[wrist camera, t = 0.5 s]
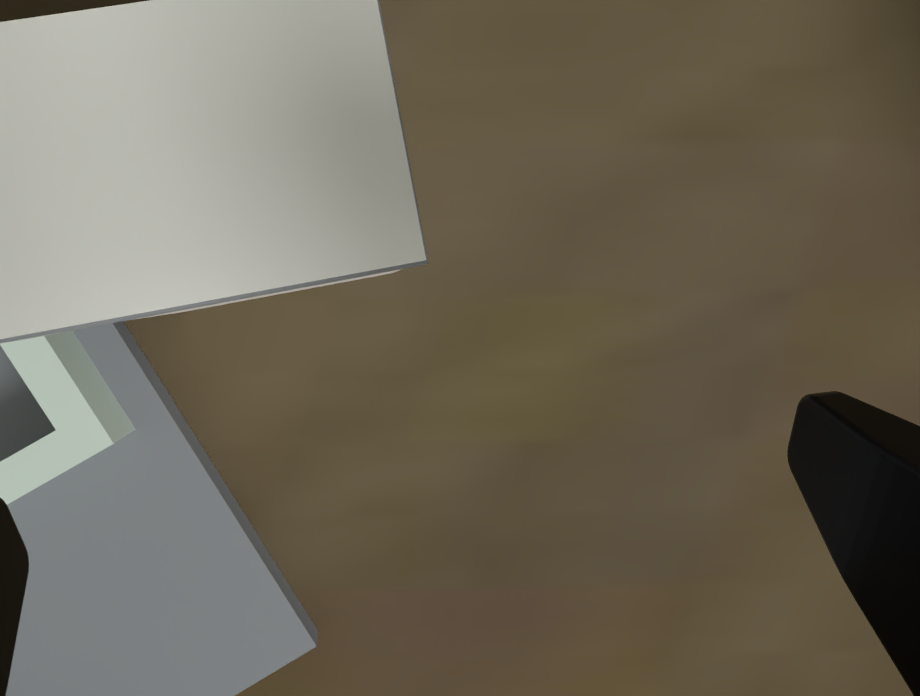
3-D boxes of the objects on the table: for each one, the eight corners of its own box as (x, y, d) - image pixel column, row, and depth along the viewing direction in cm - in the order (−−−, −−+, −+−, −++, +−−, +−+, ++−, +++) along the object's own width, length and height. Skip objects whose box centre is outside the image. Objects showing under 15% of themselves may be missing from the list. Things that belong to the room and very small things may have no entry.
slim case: (367, 135, 23) (374, -37, 11) (394, 274, 24) (430, 262, 11) (153, 170, 23) (-98, 32, 10) (185, 313, 23) (-20, 346, 11)
